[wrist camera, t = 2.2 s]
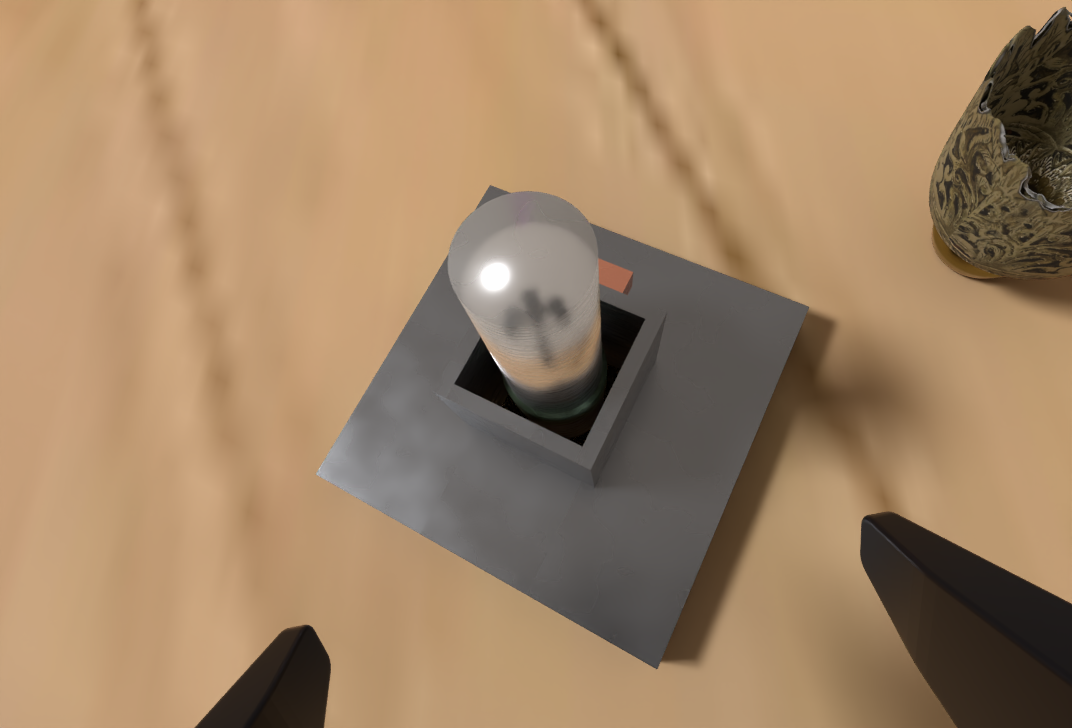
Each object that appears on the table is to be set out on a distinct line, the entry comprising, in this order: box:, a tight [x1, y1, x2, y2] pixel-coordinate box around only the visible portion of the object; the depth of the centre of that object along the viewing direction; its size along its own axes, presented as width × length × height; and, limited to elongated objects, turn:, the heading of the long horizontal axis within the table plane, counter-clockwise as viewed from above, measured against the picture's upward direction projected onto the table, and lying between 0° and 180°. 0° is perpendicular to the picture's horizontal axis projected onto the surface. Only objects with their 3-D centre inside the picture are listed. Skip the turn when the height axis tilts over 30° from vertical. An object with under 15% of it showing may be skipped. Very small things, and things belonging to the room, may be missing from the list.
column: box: [448, 191, 607, 439], centre depth 18 cm, size 4×4×12 cm
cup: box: [929, 7, 1072, 280], centre depth 20 cm, size 8×7×8 cm
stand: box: [316, 185, 809, 669], centre depth 21 cm, size 14×14×6 cm
